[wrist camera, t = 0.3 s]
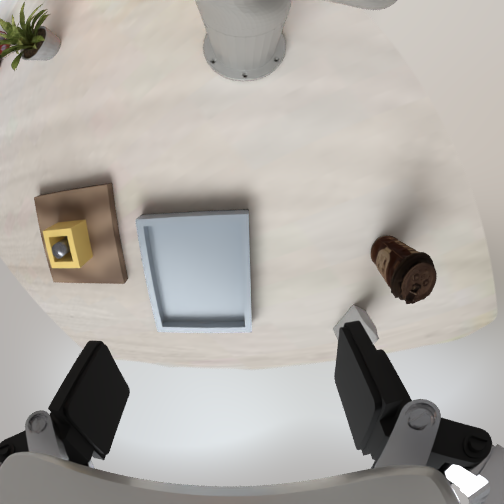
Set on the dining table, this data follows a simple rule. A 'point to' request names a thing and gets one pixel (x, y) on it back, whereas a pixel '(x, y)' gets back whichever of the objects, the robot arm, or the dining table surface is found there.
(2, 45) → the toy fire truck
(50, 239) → the collar
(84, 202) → the board
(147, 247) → the tray
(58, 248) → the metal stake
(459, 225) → the dining table surface
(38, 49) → the house plant
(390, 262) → the coffee cup
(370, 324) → the grey house shaped block
